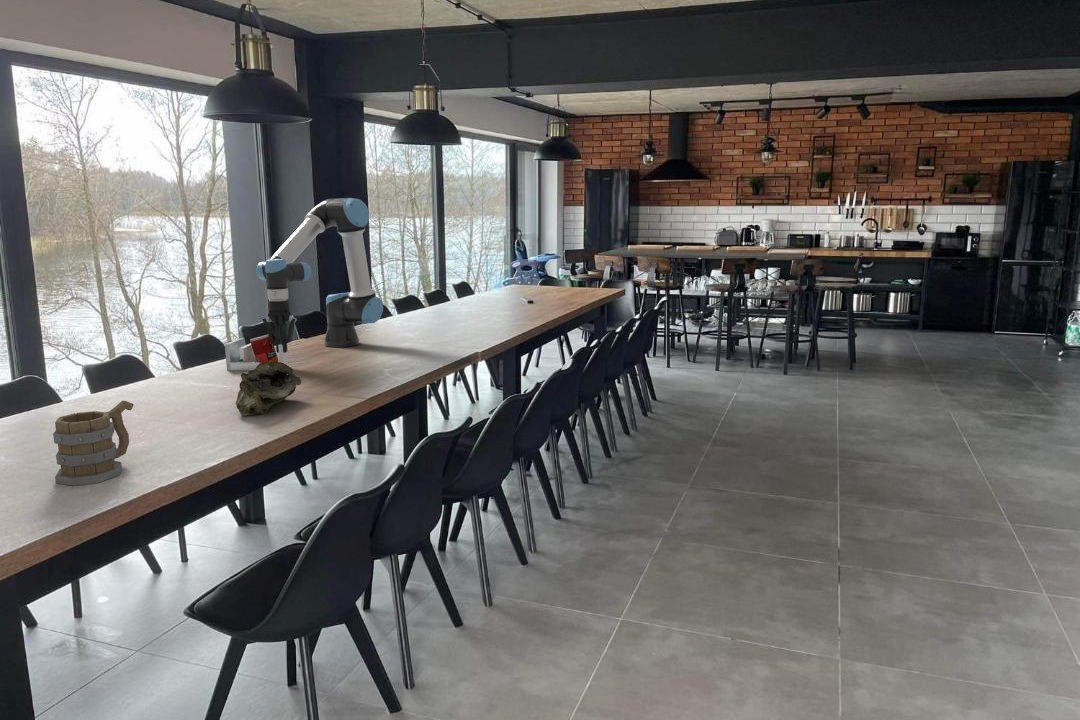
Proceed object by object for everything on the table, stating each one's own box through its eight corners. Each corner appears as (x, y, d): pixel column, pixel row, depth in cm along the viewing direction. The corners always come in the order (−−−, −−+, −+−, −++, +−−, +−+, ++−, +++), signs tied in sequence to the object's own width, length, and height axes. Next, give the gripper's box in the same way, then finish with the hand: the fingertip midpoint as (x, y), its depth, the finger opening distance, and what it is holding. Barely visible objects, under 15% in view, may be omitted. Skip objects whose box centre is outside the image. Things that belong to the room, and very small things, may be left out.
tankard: (84, 488, 168) (76, 422, 165) (44, 481, 172) (35, 416, 169) (159, 461, 186) (153, 401, 183) (121, 455, 190) (114, 396, 188)
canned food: (272, 364, 292) (263, 336, 290) (254, 368, 294) (245, 341, 292) (282, 360, 300) (274, 333, 298) (264, 364, 301) (256, 337, 300)
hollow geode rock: (291, 409, 251) (260, 376, 252) (315, 384, 248) (284, 350, 248) (242, 431, 224) (207, 393, 224) (269, 402, 221) (234, 364, 221)
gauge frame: (242, 363, 304) (240, 338, 303) (274, 363, 304) (273, 338, 302) (226, 370, 291) (224, 344, 289) (260, 370, 290) (258, 344, 288)
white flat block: (252, 363, 303) (250, 343, 301) (256, 363, 302) (254, 343, 301) (237, 370, 289) (236, 349, 288) (241, 370, 289) (240, 349, 288)
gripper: (257, 301, 288) (262, 362, 293) (291, 301, 288) (295, 362, 292) (265, 298, 296) (269, 358, 300) (298, 298, 295) (302, 358, 300)
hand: (282, 360), depth 296 cm, fingers closed
